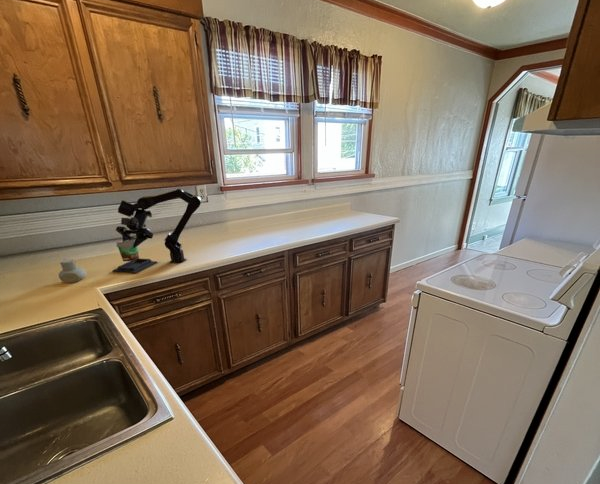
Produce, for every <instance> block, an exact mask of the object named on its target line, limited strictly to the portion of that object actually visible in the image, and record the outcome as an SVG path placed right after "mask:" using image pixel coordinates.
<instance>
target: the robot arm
mask: <svg viewBox="0 0 600 484" xmlns="http://www.w3.org/2000/svg"><path fill="white" fill-rule="evenodd" d="M174 199H180V200H182V201H184V202H185V203H187V205H186V209H185V211H184V213H183V215H182V216H181V218H180V220H179V222H178V223H177V225H176V227H175V228H174V230H173V231H172V232H171V231H169V232H168V233H167V234H166V237H165V238H164V240H163V241H164V247H165V248H166V249H168V251H169V256H170V261H169V262H170V263H172V264H173V263H175V264H181V263H183V262H185V261H187V258H185V255H184V254H185V253H184V250H183V249H182V248H183V244H182V243H181V242H180V241H179V239H180V236H181V234H182V233H183V231H184V229H185V227H186V226H187V224H188V222H189V220H190V219H191V217H192V215H193V214H194V213H195V212H196V211H197V210H198V209H199V208H200V206H201V205H202V199H201V197H200V196H199V195H197V194H195V195H194V194H192V193H190V192H188V191H186V190H183V189H182V188H177V189H175V190H171V191H167V192H164V193H160V194H157V195H145V196H144V195H143V196H141V197H140V198H138V199H137V201H136V202H135V203H130V202H129V201H127V200H124V199H122V200H121V201H120V204H119V206H118V209H117V213H118V214H120V215H123V216H125V217H121V220H120V225H117V226H116V228H115V231H116V232H117V233H119V234H120V235H121V236H122V242H123V241H124V240H129V239H131V237H132V236H131V235H135V238H136V239H135V242H134V246H133V247H134V248H136V247H138V246H140V244H142V243H143V242H145V241H146V240H149V239H150V240H151V239H153V237H154V233H153V232H152V231H151V230H150V229H149V228H147V225H146V221H147V219H148V217H149V218H153V213H152V212H151V210H150V208H152V207H154V206H156V205H157V204H160V203H165V202H167V201H171V200H174ZM148 209H149V210H148ZM123 225H124V226H123ZM125 226H126V227H125Z"/></svg>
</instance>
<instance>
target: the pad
mask: <svg viewBox="0 0 600 484" xmlns="http://www.w3.org/2000/svg"><path fill="white" fill-rule="evenodd" d="M156 264H158V261H155V260H152V259H150V258H140V257H139V258H138V259H136V260H133V261H126V263H123V264H121V265H118V266H117V268H114V269H112V272H113V273H124V274H134V275H135V274H138V273H140V272H142V271H144V270H146V269H148V268H150V267H152V266H154V265H156Z"/></svg>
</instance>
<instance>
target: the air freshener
mask: <svg viewBox="0 0 600 484" xmlns="http://www.w3.org/2000/svg"><path fill="white" fill-rule="evenodd" d="M59 263H60V266H61V269H62V270H61V271H60V272H59V273H58V279H59V280H60V281H62V282H64V283H68V284H74V283H78V282H79V281H82V280H83V279H85V278H86V275H87V273H86V270H84V269H83V268H82V267H78V265H77V263H76V260H75V258H67V259H63V260H61V261H59Z"/></svg>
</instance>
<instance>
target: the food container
mask: <svg viewBox="0 0 600 484" xmlns="http://www.w3.org/2000/svg"><path fill="white" fill-rule="evenodd" d="M130 237H131V239H129V240H124V241H123V240H122V241H119V242H118V241H117V242H116V247H117V248H118V251H119V254H120V257H121V260H122V262H130V261H133V260H136V259H138V258H140V253H139V247H138V246H137V247H136V248H134V247H133V246H134V242H135V239H136V236H130Z"/></svg>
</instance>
